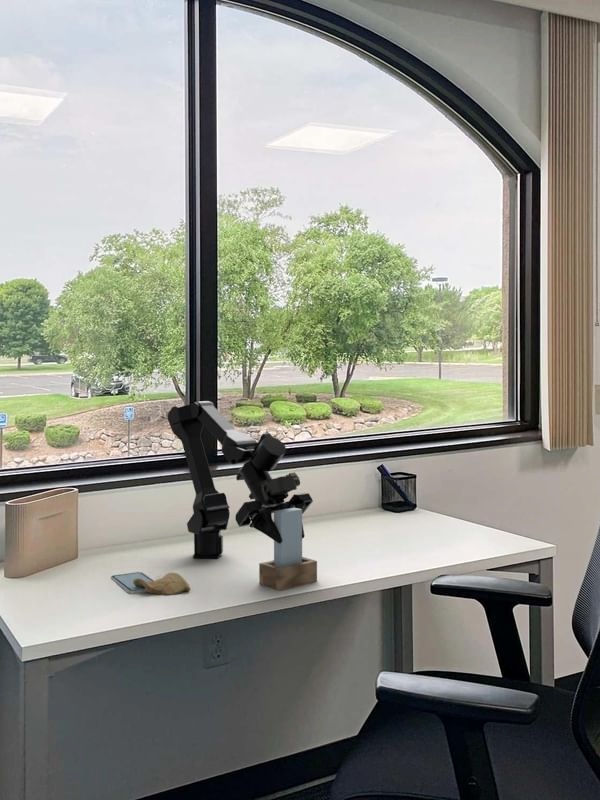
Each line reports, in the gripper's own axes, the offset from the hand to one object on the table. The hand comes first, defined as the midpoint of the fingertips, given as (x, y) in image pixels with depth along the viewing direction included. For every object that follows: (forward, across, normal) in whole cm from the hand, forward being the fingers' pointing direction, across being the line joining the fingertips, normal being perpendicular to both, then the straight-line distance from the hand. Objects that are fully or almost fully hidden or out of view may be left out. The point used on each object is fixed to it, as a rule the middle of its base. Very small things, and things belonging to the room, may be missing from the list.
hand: (292, 540), depth 172 cm
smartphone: (-9, -25, +24) cm, 36 cm away
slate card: (+4, 0, +6) cm, 7 cm away
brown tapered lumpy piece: (-4, -23, +18) cm, 30 cm away
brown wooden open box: (+6, 0, +8) cm, 10 cm away
